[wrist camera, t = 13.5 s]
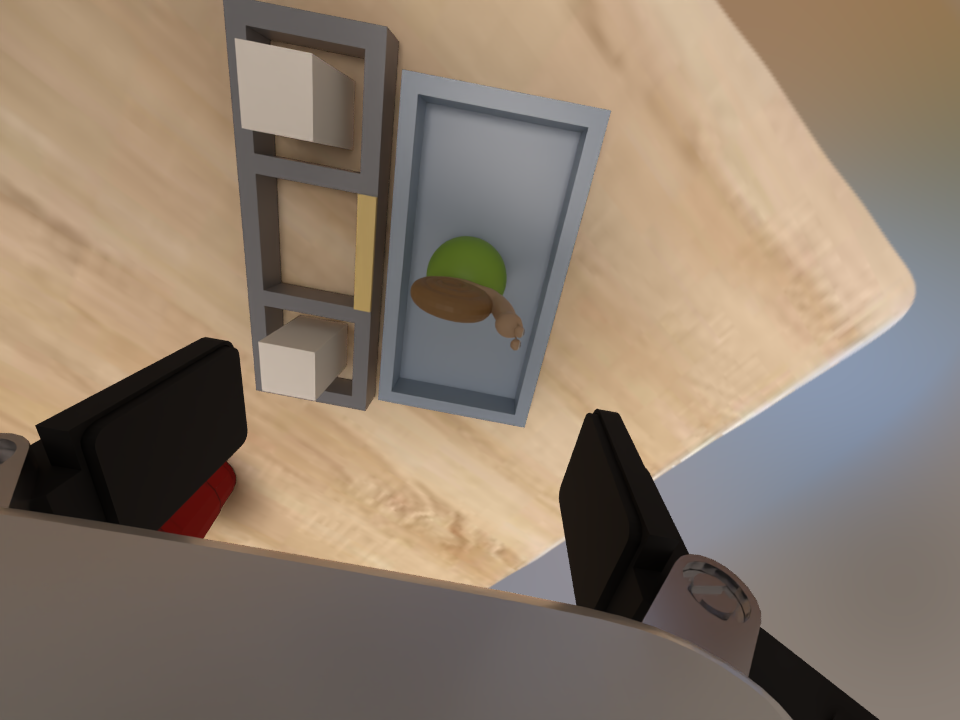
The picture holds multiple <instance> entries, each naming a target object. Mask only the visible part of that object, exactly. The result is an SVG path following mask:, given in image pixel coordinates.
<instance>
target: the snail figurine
mask: <svg viewBox="0 0 960 720" xmlns="http://www.w3.org/2000/svg"><path fill="white" fill-rule="evenodd" d="M506 282H507V273H506V267H505V264H504V261H503V259H502V257H501V255H500V254H499V252H498V251H497V250H496V249H495V248H494V247H493V246H492V245H491V244H489V243H488V242H486V241H484V240H482V239H480V238H477V237H472V236H460V237H456V238H453V239H450V240H448V241H446V242H445V243H443V244H442V245H441V246H440V247H439V248H438V249H437V250H436V251H435V252H434V253H433V255H432V257H431V259H430V261H429V264H428V267H427V273H426V277H422V278H420V279H418V280H416V281H415V282H414V283H413V285H412V286H411V290H410V293H411V298H412V300H413V302H414V303H415V304H416V305H417V306H418V307H419V308H420V309H422V310H423V311H425V312H427V313H429V314H431V315H433V316H435V317H438V318H441V319H444V320H448V321H453V322H459V323H476V322H480V321H483V320H485V319H486V318H487V317H488V316H489V315H490V314H491V313H492V315H493V317H494V318H495V320H496V321H495V328H496V330H497V332H498V333H499V334H500V335H501V336H503V337H506V338H514V337H515V339H514V340H512V341H511V343H510V347H511V348H512V349H513V350H519V348H520V346H521V342H520V340H518V339H517V338H516V337H518V338H521V337H523V335H524V333H525V330H524V328H523V324H522V320H521V318H520V317H519V316H518V315H516V313H515V310H514V308H513V307H512V305H511V304H510V303H509V301H508V300H507V299H506V298H505V297H503V294H504V291H505V288H506Z"/></svg>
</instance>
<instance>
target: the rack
mask: <svg viewBox="0 0 960 720" xmlns="http://www.w3.org/2000/svg"><path fill="white" fill-rule="evenodd" d="M223 6H224V17H225V29H226V41H227V53H228V64H229V76H230V88H231V99H232V111H233V123H234V135H235V146H236V158H237V170H238V182H239V193H240V205H241V217H242V228H243V240H244V252H245V264H246V275H247V287H248V299H249V310H250V322H251V334H252V346H253V357H254V369H255V381H256V390H258V391H262V383H261V370H260V357H259V344H258V342H259V341H260V340H262V339H263V338H265V337H267V336H268V335H270V334H271V333H273V332H274V331H276V330H278V329H279V328H281V327H282V326H283V309H285V310H290V311H295V312H300V313H306V314H311V315H316V316H321V317H326V318H332V319H337V320H342V321H347V322H353V323H355V330H354V356H353V380H348V379H343V378H338V377H336V378H335V379H334V381H333V382H332V383H331V384H330V385H329V386H328V387H327V388H326V390H325V391H324V392H323V393H322V394H321V395H320V396H319V397H318V399H317V400H316V402H321V403H326V404H332V405H337V406H342V407H348V408H353V409H358V410H363V411H366V409H367V408H368V406H369V404H370V403H371V401H372V400H373V398H374V397H375V386H376V371H377V356H378V342H379V327H380V312H381V297H382V283H383V268H384V253H385V239H386V224H387V209H388V194H389V180H390V165H391V150H392V135H393V121H394V106H395V91H396V77H397V62H398V47H399V41H398V40H397V39H396V37H395V36H394V35H393V33H392V32H391V31H390V30H389V28H388V27H386V26H381V25H376V24H371V23H366V22H361V21H356V20H351V19H346V18H341V17H336V16H330V15H325V14H320V13H315V12H310V11H305V10H300V9H295V8H290V7H285V6H280V5H275V4H270V3H265V2H260V1H255V0H223ZM235 38H237V39H242V40H247V41H252V42H257V43H263V44H268V45H270V40H273V41H278V42H283V43H289V44H294V45H299V46H304V47H309V48H314V49H319V50H324V51H329V52H334V53H339V54H344V55H349V56H354V57H359V58H364V59H365V68H364V95H363V121H362V147H361V172H356V171H351V170H346V169H341V168H335V167H330V166H325V165H320V164H315V163H310V162H305V161H300V160H294V159H289V158H284V157H279V156H275V135H273V134H269V133H264V132H259V131H254V130H249V129H244V128H242V125H241V113H240V100H239V87H238V75H237V62H236V49H235ZM277 178H281V179H286V180H291V181H296V182H301V183H306V184H312V185H317V186H322V187H327V188H332V189H337V190H343V191H348V192H353V193H358V201H357V229H356V257H355V284H354V296H349V295H343V294H338V293H333V292H328V291H322V290H317V289H312V288H307V287H302V286H296V285H291V284H286V283H281V264H280V242H279V221H278V199H277ZM263 392H266V391H263ZM268 393H271V392H268ZM274 394H276V393H274ZM279 395H282V394H279ZM284 396H287V395H284ZM290 397H292V396H290ZM295 398H297V397H295ZM300 399H303V398H300ZM305 400H308V399H305ZM311 401H313V400H311Z"/></svg>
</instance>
